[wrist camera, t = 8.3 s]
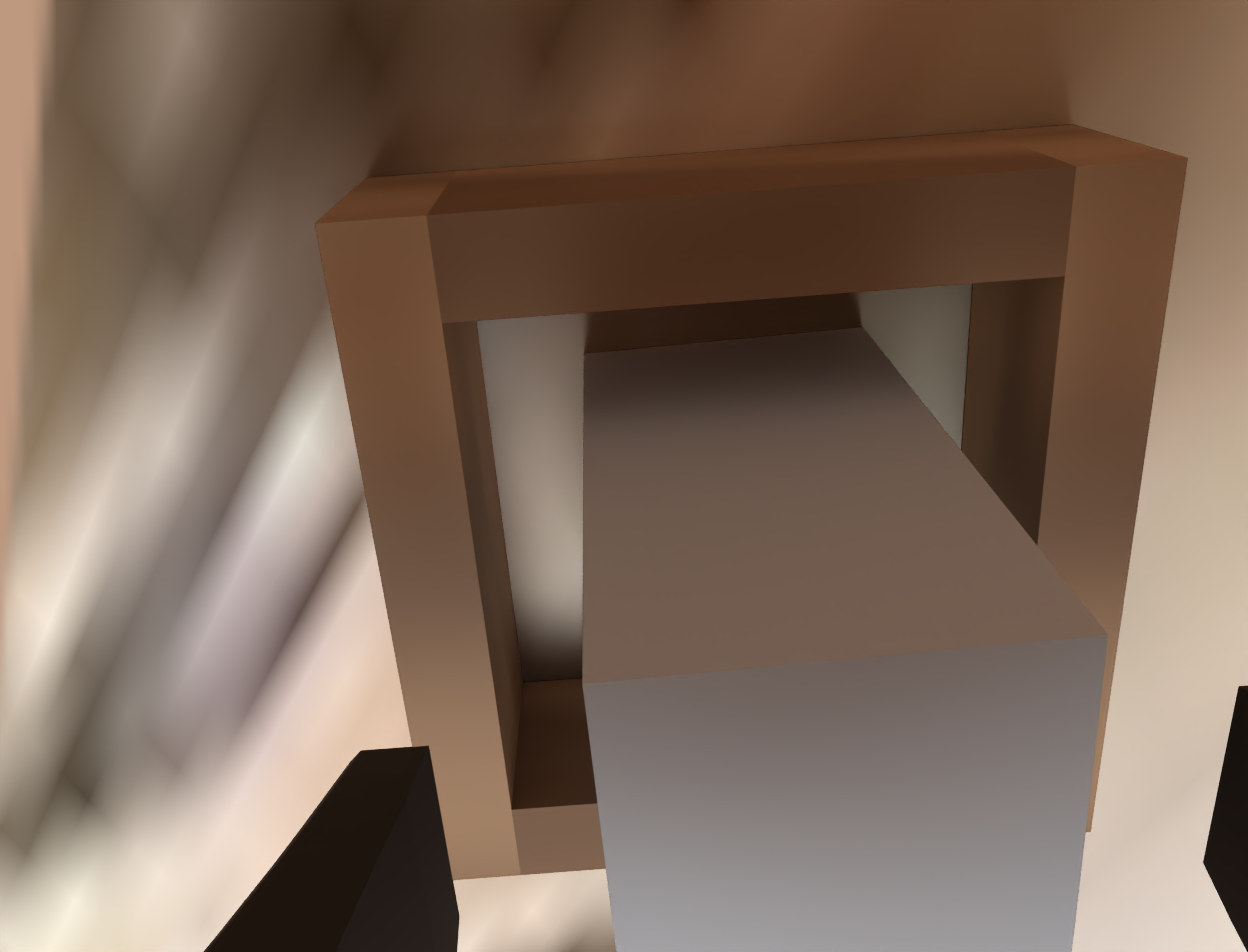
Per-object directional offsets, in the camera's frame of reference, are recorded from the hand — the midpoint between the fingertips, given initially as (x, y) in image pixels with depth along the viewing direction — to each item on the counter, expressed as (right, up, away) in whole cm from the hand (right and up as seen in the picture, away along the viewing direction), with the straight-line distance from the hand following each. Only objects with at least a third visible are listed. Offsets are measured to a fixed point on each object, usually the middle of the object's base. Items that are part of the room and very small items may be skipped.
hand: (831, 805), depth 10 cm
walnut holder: (0, +3, +7) cm, 7 cm away
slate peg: (0, +3, +7) cm, 7 cm away
